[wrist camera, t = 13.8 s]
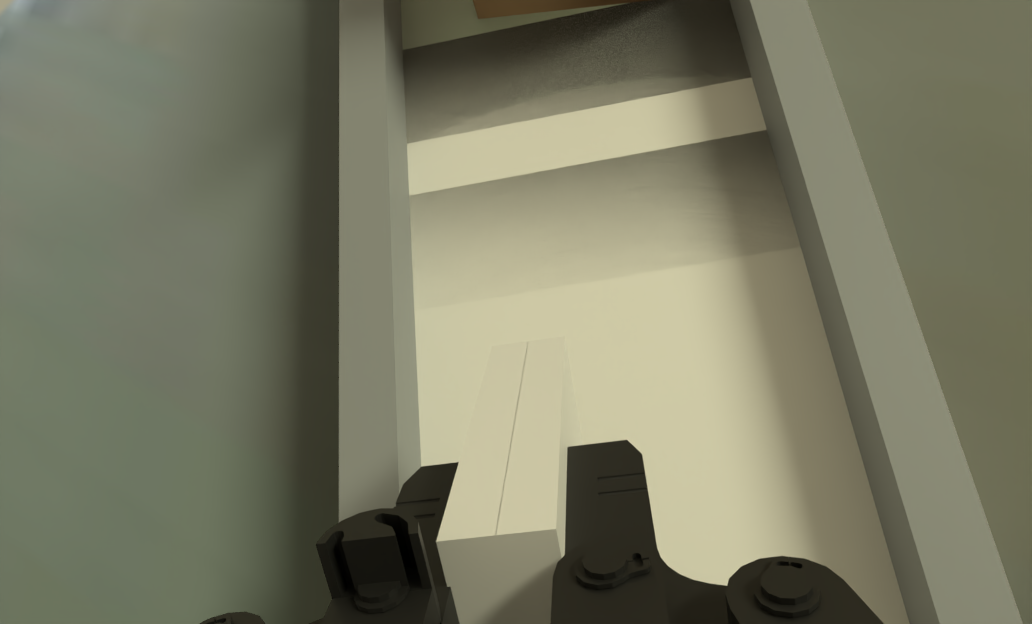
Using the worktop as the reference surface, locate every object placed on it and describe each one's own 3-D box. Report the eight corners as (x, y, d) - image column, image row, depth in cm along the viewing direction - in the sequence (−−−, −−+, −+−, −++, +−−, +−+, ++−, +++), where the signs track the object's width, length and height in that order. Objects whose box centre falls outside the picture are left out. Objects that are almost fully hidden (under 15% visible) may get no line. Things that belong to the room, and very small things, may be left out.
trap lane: (690, -243, 31) (695, -392, 27) (1010, 760, 16) (1140, 803, 12) (366, -164, 33) (319, -292, 29) (387, 813, 18) (295, 867, 14)
